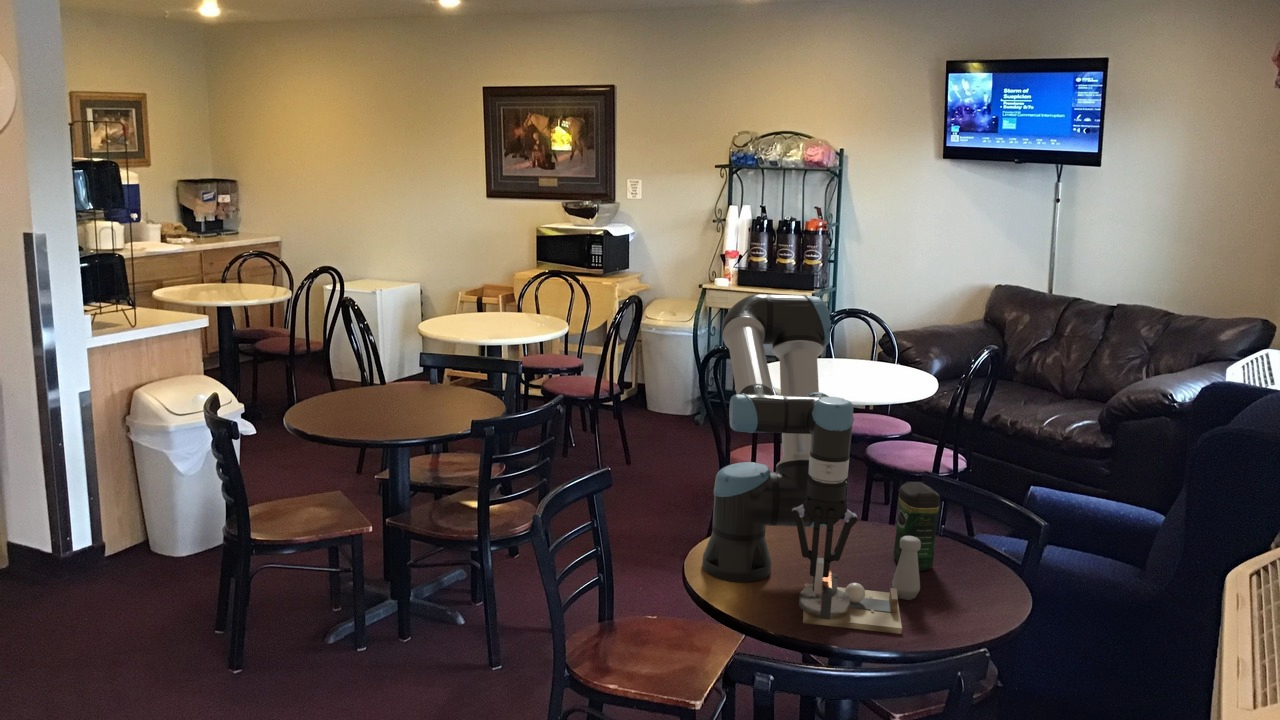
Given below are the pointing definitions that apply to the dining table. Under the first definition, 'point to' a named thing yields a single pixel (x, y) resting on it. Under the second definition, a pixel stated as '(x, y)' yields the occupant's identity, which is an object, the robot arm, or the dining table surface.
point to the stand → (866, 613)
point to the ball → (855, 592)
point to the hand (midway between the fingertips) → (817, 591)
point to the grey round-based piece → (825, 599)
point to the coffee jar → (918, 520)
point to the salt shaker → (907, 569)
